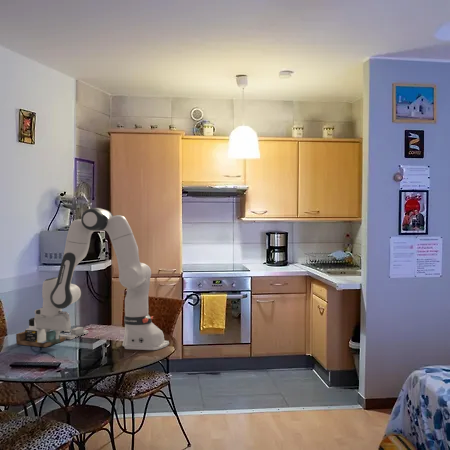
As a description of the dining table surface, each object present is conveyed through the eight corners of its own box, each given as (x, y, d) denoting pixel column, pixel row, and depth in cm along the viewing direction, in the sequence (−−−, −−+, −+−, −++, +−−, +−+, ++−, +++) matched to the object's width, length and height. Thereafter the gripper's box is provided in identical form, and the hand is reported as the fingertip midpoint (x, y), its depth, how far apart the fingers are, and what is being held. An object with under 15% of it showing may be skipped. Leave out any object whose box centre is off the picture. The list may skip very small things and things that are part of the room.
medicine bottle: (25, 343, 234) (24, 319, 234) (34, 339, 241) (34, 316, 241) (37, 344, 232) (36, 320, 232) (46, 340, 239) (46, 317, 239)
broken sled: (88, 333, 252) (88, 325, 252) (70, 339, 239) (70, 331, 239) (60, 330, 259) (60, 323, 259) (42, 336, 247) (41, 328, 247)
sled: (65, 340, 238) (64, 328, 238) (45, 347, 225) (44, 334, 225) (37, 337, 245) (37, 325, 245) (16, 344, 233) (16, 331, 233)
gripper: (73, 310, 231) (74, 338, 231) (41, 308, 239) (42, 335, 239) (64, 313, 225) (65, 342, 225) (31, 310, 233) (32, 338, 233)
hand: (53, 338), depth 232 cm, fingers closed on sled, 3 cm apart
